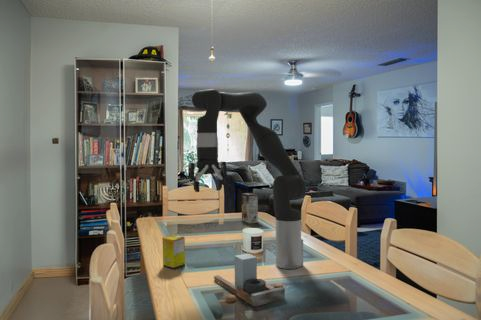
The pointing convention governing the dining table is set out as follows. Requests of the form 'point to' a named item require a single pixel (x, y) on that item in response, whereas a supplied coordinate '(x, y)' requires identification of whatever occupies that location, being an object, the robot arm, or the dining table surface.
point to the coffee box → (249, 207)
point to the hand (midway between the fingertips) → (208, 191)
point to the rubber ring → (254, 286)
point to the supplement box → (173, 251)
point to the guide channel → (256, 298)
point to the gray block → (245, 269)
